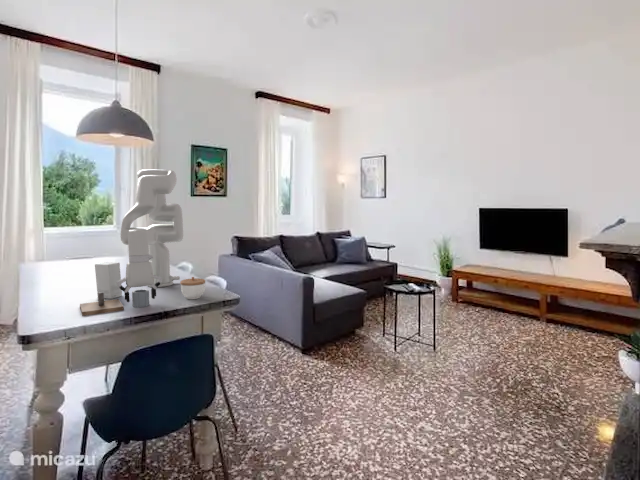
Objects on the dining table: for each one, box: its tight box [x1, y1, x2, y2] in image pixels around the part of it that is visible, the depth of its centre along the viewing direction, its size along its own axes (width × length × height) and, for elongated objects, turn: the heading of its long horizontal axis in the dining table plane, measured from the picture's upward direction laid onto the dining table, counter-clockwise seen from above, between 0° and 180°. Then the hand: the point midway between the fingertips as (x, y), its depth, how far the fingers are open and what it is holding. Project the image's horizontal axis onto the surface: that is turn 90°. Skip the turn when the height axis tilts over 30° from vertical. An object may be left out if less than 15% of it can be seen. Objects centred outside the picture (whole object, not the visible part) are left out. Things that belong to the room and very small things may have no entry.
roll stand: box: [79, 292, 125, 317], centre depth 151 cm, size 14×14×6 cm
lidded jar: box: [180, 276, 206, 300], centre depth 170 cm, size 11×11×9 cm
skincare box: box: [94, 261, 123, 300], centre depth 170 cm, size 8×7×16 cm
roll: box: [131, 288, 150, 308], centre depth 157 cm, size 6×6×6 cm
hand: (140, 299), depth 157 cm, fingers open, 9 cm apart
